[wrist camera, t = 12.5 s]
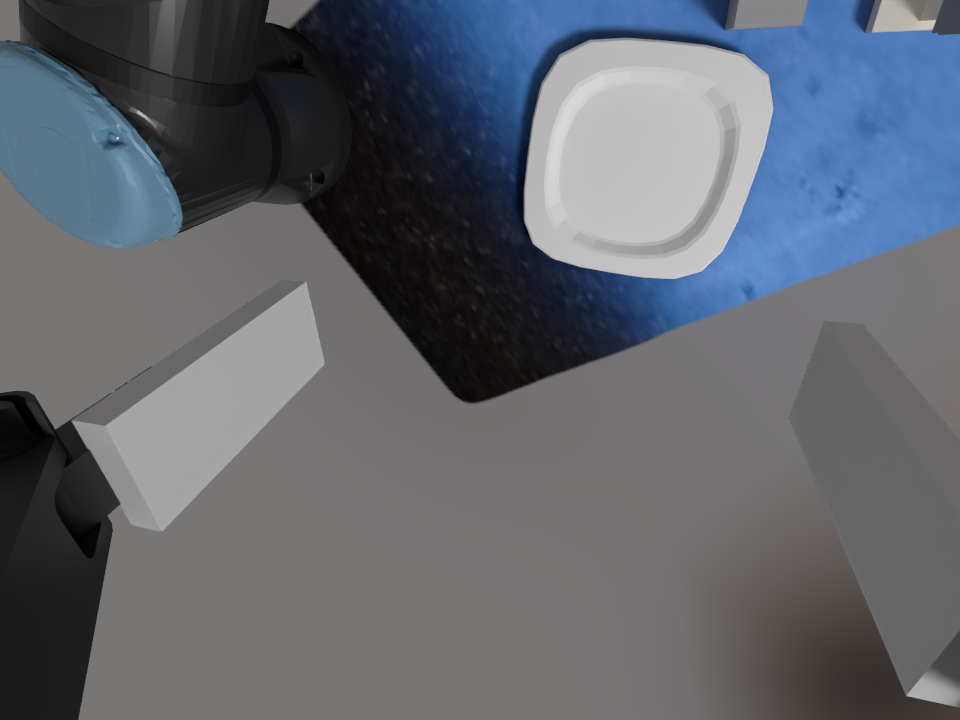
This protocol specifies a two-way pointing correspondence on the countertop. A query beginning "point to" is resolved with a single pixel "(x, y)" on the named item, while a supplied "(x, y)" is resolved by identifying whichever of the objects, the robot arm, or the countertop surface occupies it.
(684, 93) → the plate
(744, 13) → the rests
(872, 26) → the bracket stand
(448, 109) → the countertop surface
